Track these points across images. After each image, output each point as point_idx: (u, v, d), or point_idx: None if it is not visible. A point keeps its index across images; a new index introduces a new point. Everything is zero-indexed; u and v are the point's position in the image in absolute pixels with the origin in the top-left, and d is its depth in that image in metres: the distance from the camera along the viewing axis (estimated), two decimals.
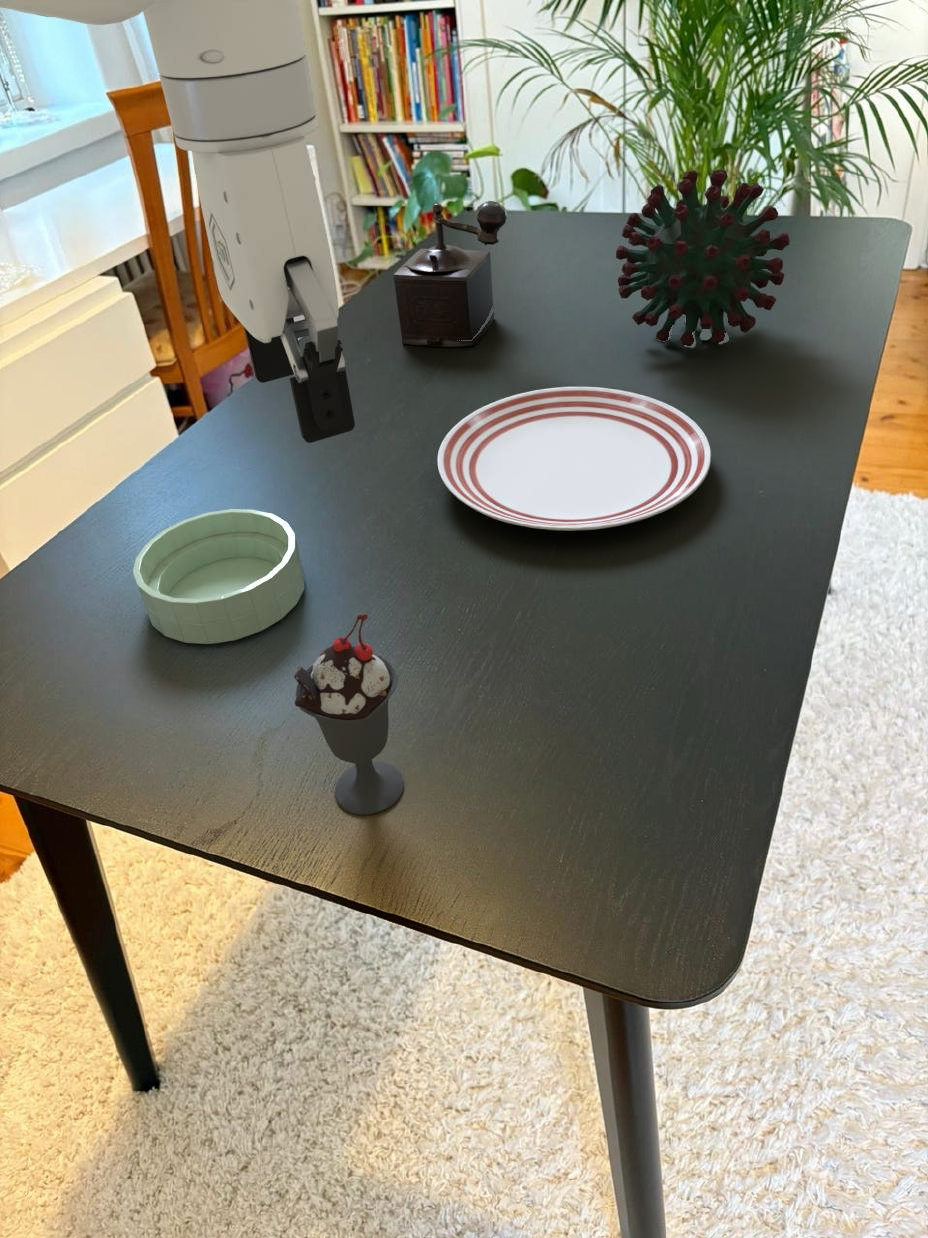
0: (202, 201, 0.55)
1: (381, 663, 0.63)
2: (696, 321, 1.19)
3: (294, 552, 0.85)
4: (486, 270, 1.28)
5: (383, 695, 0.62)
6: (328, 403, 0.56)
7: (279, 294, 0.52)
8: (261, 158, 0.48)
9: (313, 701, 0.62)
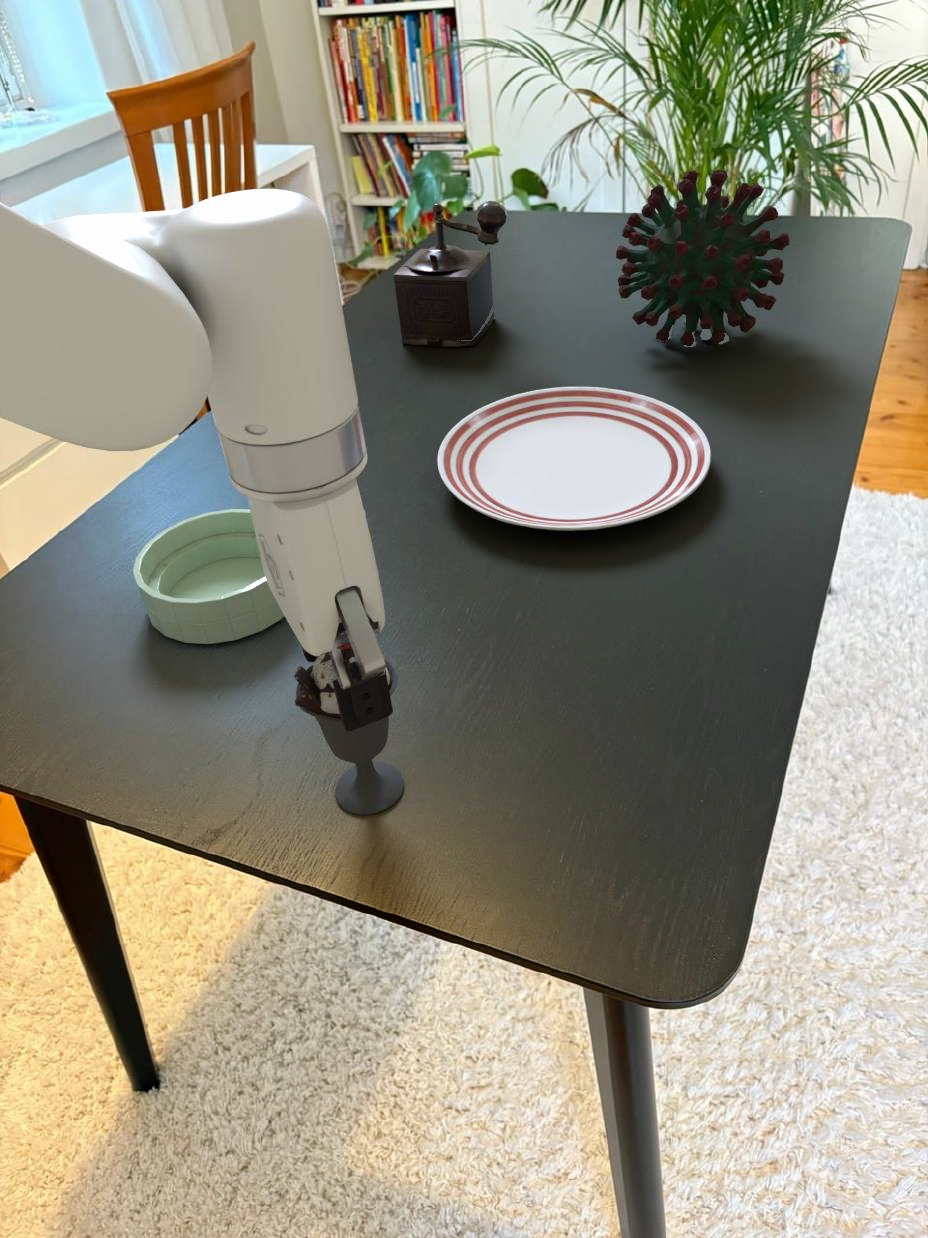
0: (252, 513, 0.56)
1: None
2: (696, 321, 1.19)
3: None
4: (486, 270, 1.28)
5: None
6: (369, 701, 0.58)
7: (329, 620, 0.53)
8: (315, 511, 0.50)
9: (313, 701, 0.62)
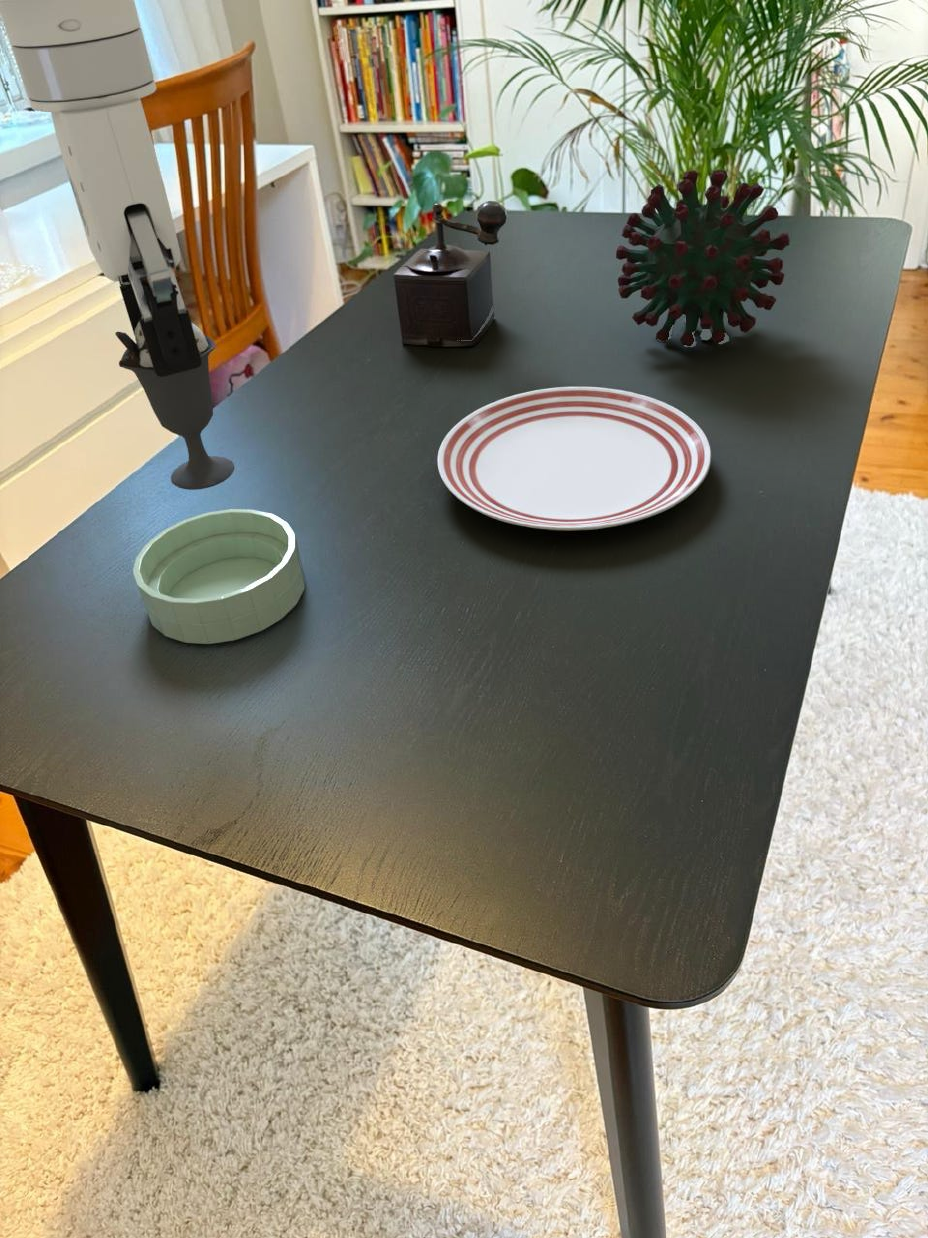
0: None
1: (198, 329, 0.69)
2: (696, 321, 1.19)
3: (294, 552, 0.85)
4: (486, 270, 1.28)
5: None
6: (173, 341, 0.65)
7: (121, 237, 0.60)
8: (96, 117, 0.56)
9: (134, 359, 0.68)
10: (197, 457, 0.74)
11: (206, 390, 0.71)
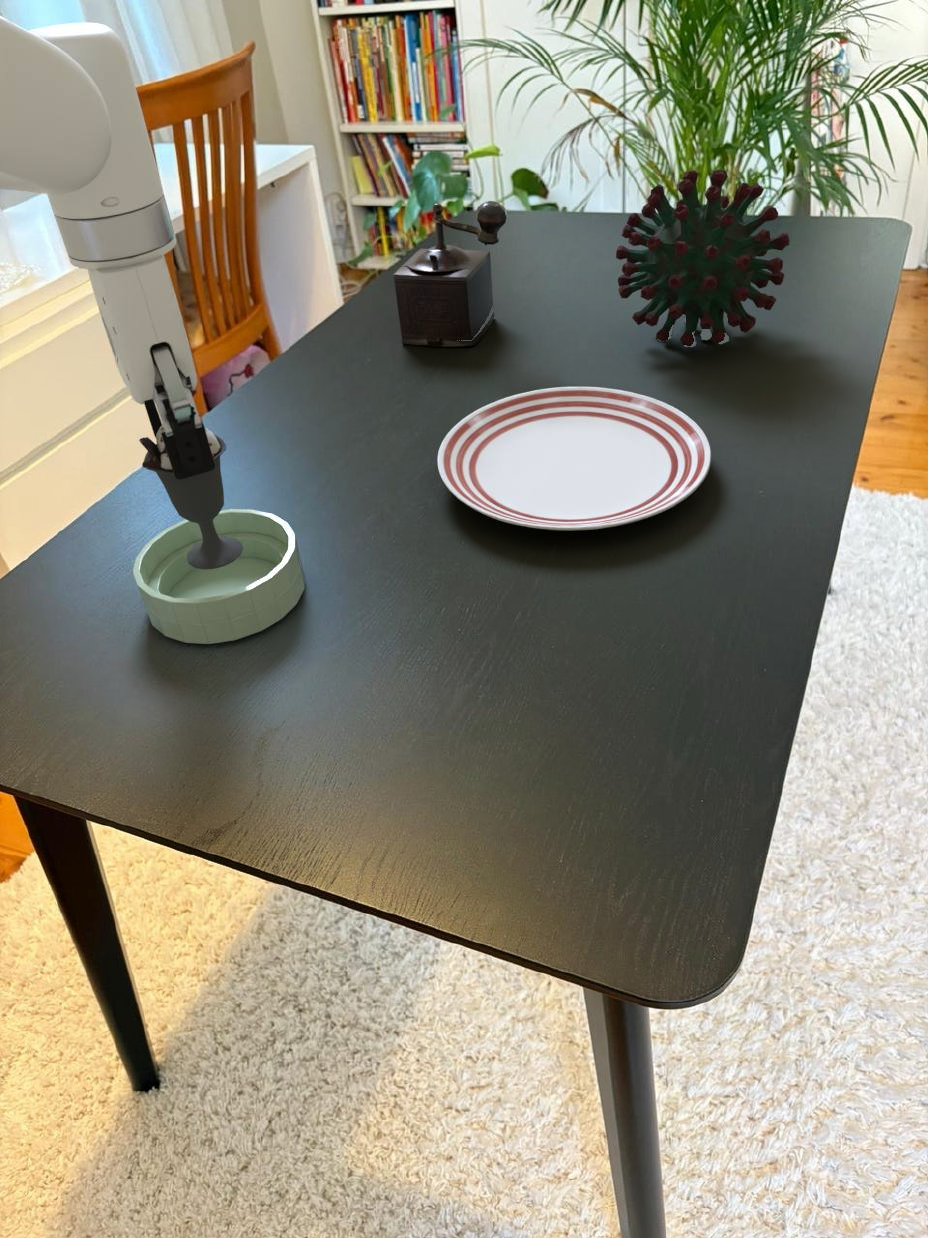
0: None
1: (211, 433, 0.79)
2: (696, 321, 1.19)
3: (294, 552, 0.85)
4: (486, 270, 1.28)
5: None
6: (191, 451, 0.75)
7: (147, 370, 0.70)
8: (127, 274, 0.66)
9: (155, 461, 0.78)
10: (210, 540, 0.84)
11: (218, 485, 0.81)
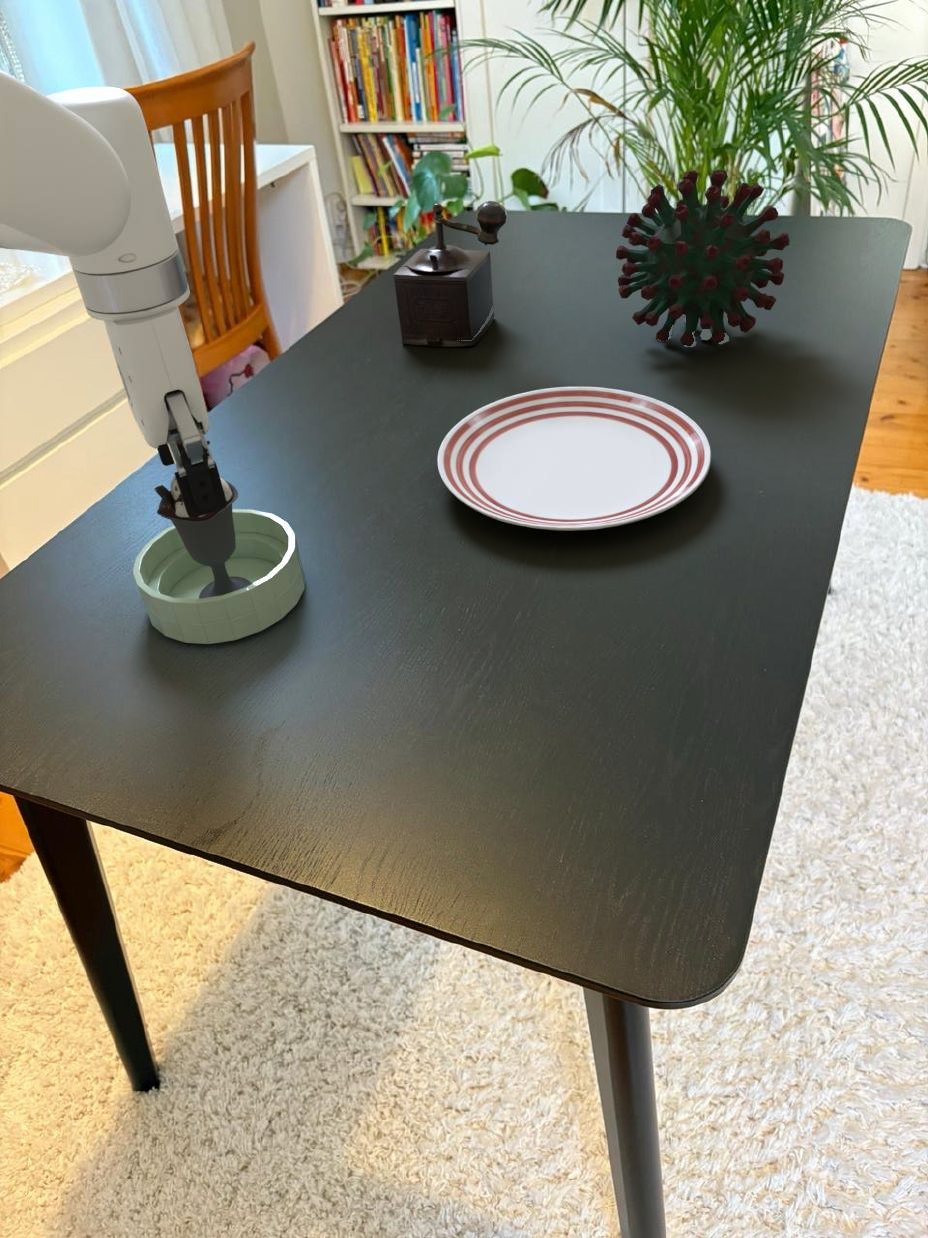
0: None
1: (224, 482, 0.82)
2: (696, 321, 1.19)
3: (294, 552, 0.85)
4: (486, 270, 1.28)
5: None
6: (203, 490, 0.76)
7: (162, 416, 0.72)
8: (143, 326, 0.68)
9: (170, 509, 0.81)
10: (222, 582, 0.87)
11: (230, 531, 0.83)
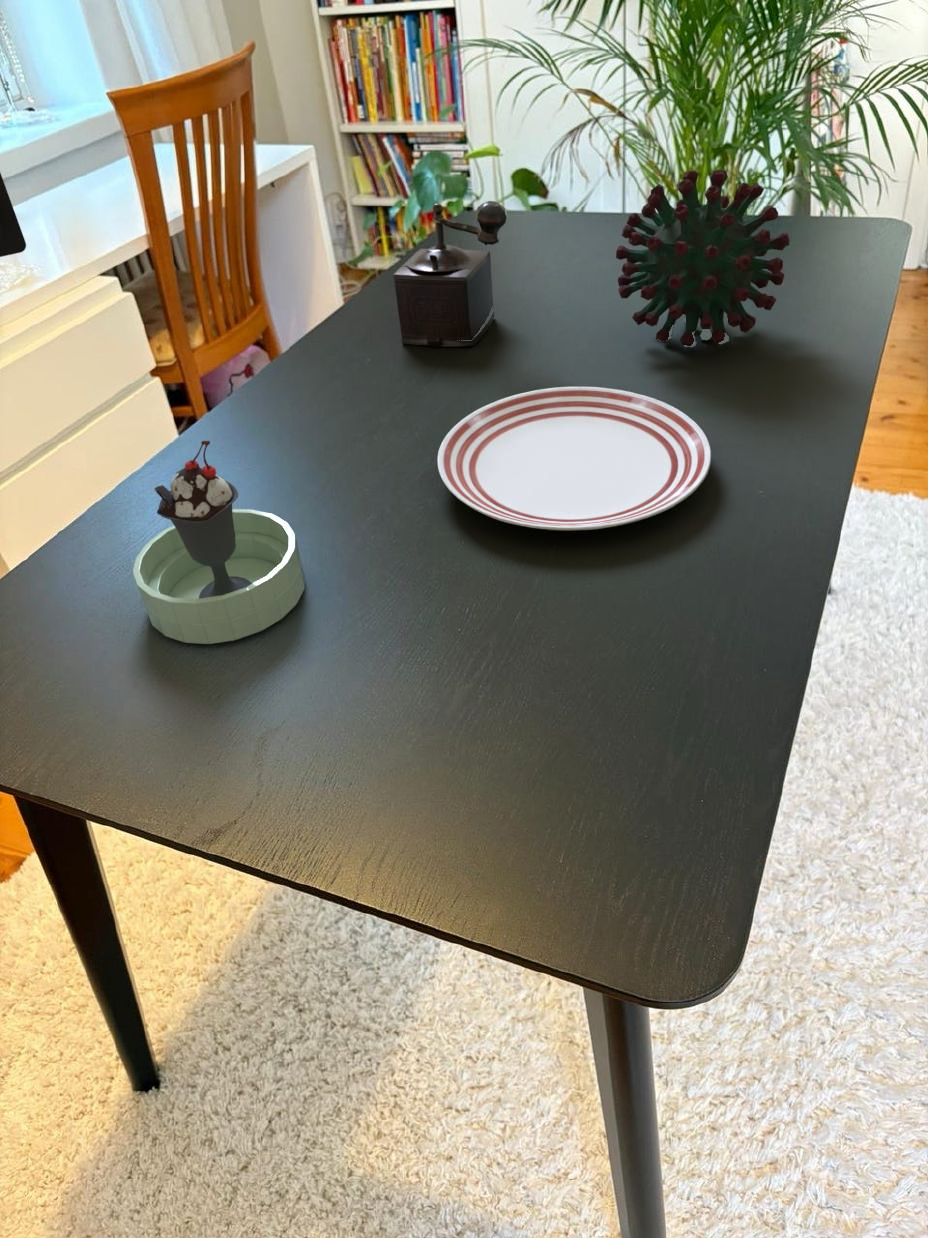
0: None
1: (224, 482, 0.82)
2: (696, 321, 1.19)
3: (294, 552, 0.85)
4: (486, 270, 1.28)
5: (223, 504, 0.81)
6: None
7: None
8: None
9: (170, 509, 0.81)
10: (222, 582, 0.87)
11: (230, 531, 0.83)
